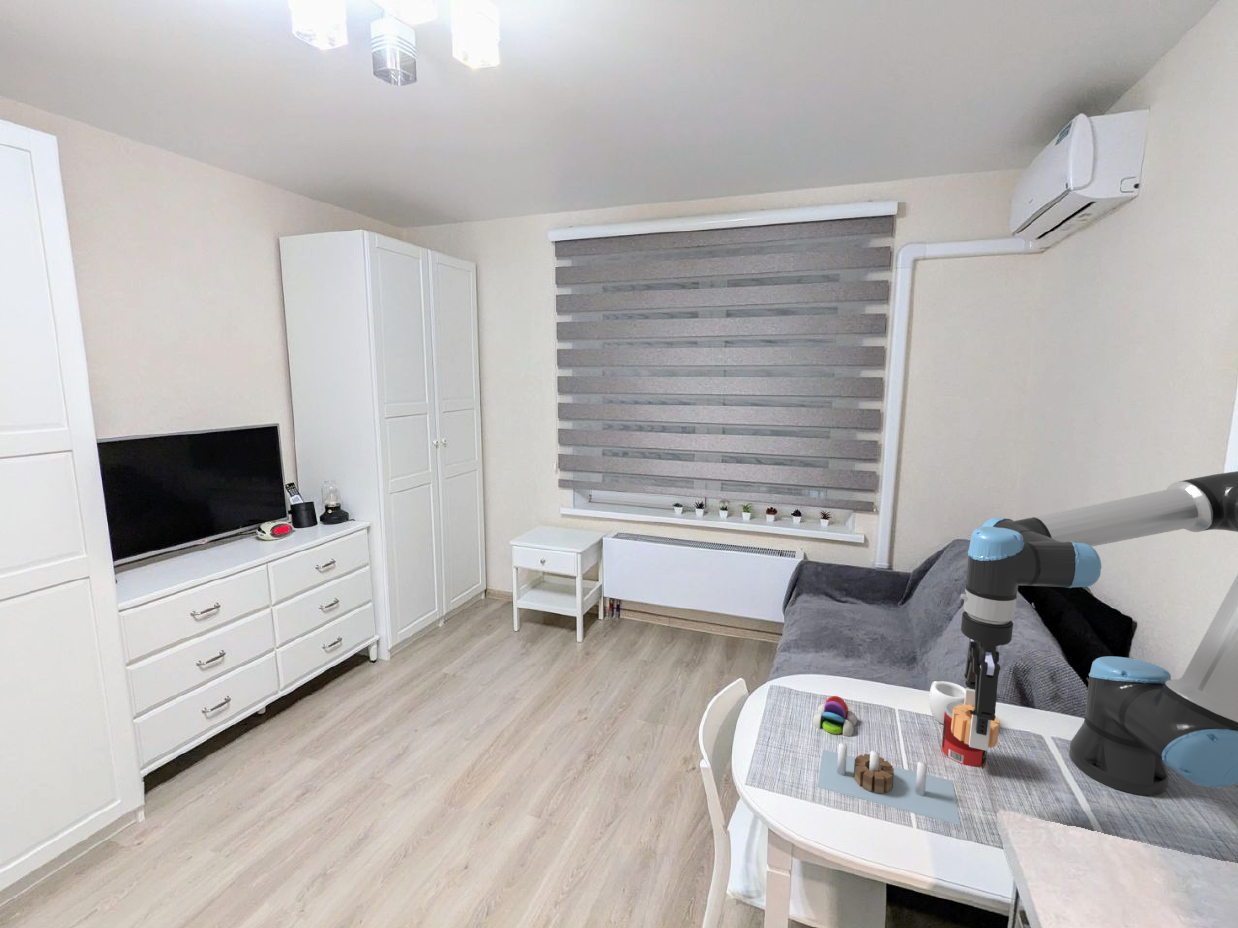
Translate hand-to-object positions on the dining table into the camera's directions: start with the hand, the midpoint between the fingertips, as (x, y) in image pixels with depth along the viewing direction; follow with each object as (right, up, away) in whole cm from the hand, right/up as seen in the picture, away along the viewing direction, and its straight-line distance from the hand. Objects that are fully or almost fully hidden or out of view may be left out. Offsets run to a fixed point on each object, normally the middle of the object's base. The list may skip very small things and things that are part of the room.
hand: (974, 734), depth 103 cm
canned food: (+8, -13, +16) cm, 22 cm away
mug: (+12, -11, +31) cm, 35 cm away
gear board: (-13, -15, +8) cm, 21 cm away
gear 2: (0, 0, 0) cm, 0 cm away
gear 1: (-15, -13, +8) cm, 21 cm away
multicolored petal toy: (-15, -12, +27) cm, 33 cm away
